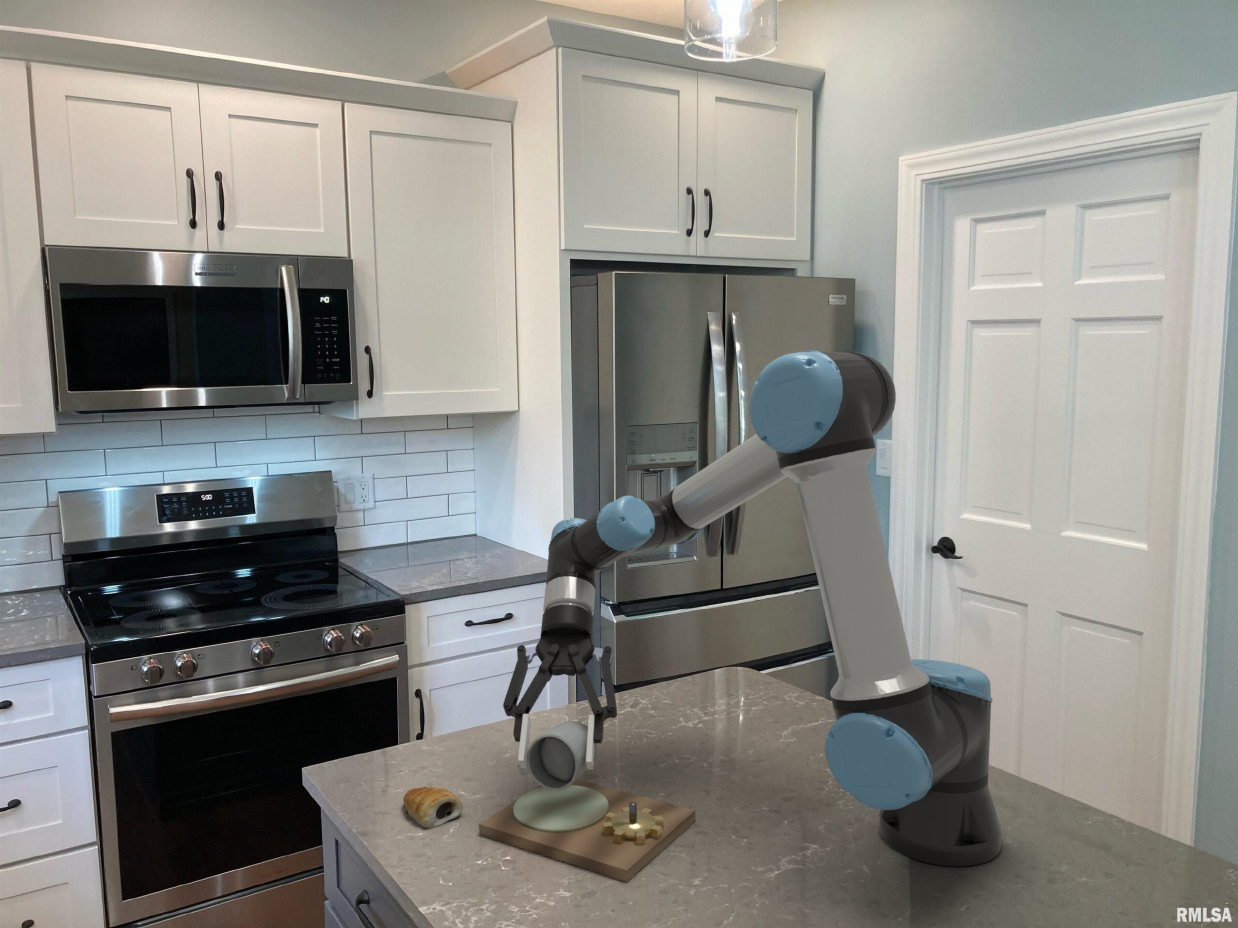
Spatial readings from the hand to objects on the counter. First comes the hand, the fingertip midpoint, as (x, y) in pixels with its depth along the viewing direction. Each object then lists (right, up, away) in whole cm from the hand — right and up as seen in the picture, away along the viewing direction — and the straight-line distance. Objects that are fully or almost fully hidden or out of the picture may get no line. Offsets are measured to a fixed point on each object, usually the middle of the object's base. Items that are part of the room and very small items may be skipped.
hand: (555, 764), depth 126 cm
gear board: (+4, -9, +2) cm, 10 cm away
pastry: (-18, -9, +6) cm, 21 cm away
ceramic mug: (0, -4, +5) cm, 6 cm away
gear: (+10, -8, -2) cm, 13 cm away
